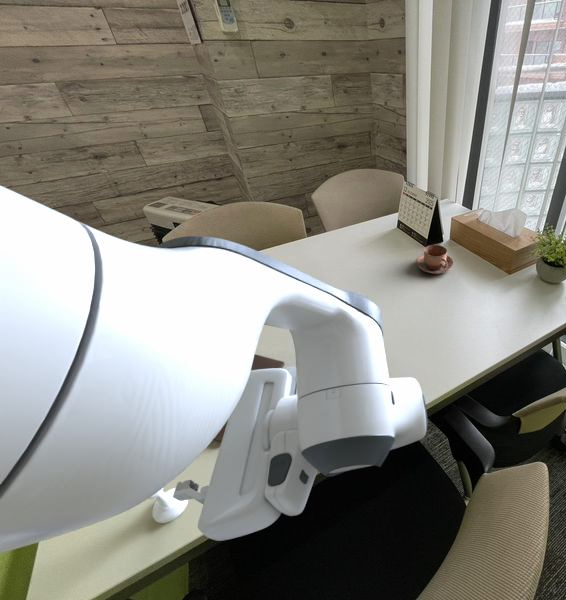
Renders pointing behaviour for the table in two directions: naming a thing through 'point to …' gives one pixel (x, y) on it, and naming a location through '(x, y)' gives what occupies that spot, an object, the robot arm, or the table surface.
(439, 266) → the cup and saucer
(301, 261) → the table surface
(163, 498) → the chess piece
